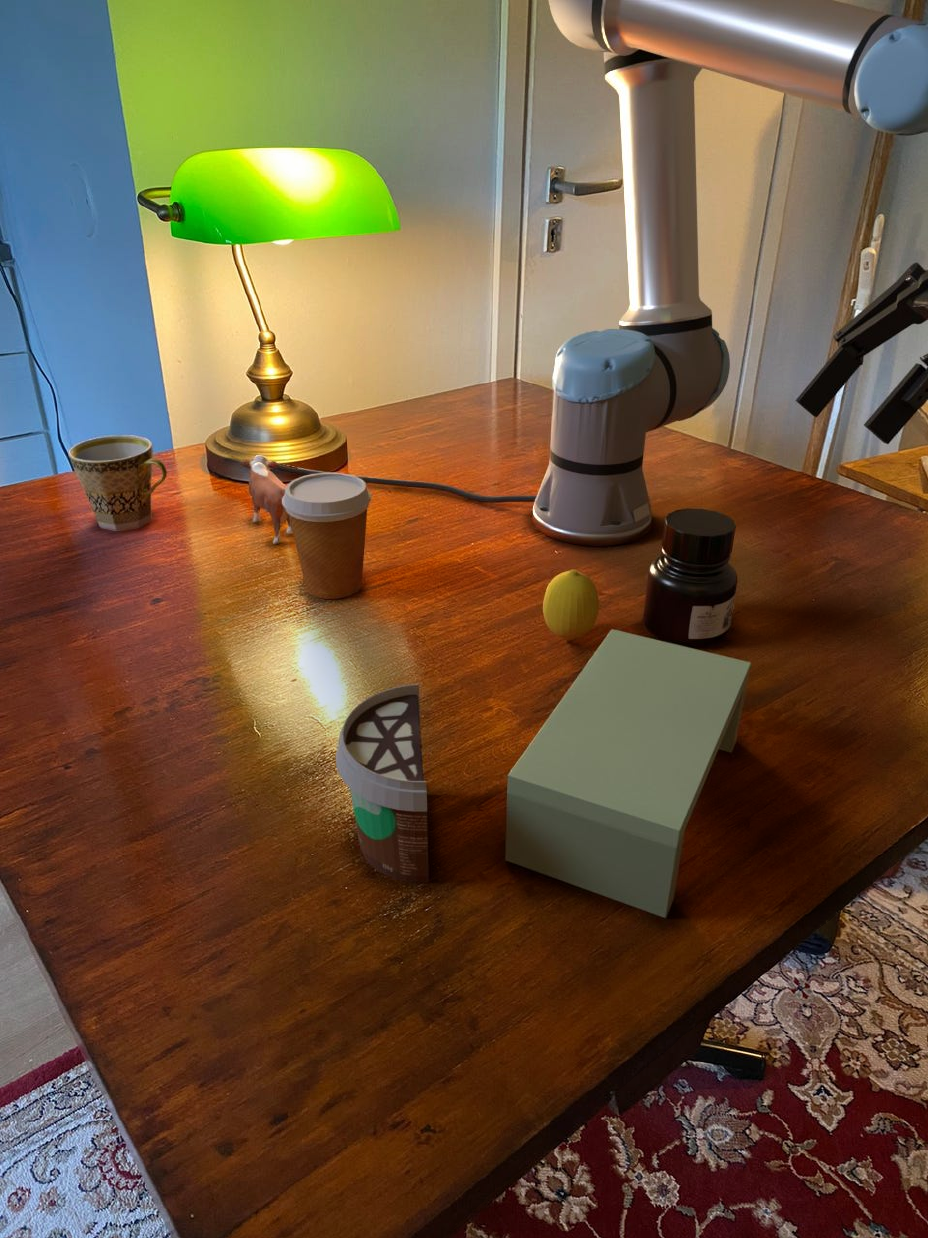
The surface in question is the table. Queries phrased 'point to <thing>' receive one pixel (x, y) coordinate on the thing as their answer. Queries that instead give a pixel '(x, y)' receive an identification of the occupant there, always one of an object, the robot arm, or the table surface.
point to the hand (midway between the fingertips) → (837, 421)
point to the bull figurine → (267, 493)
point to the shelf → (624, 768)
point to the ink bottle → (692, 579)
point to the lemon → (570, 605)
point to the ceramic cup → (117, 479)
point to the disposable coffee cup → (329, 531)
